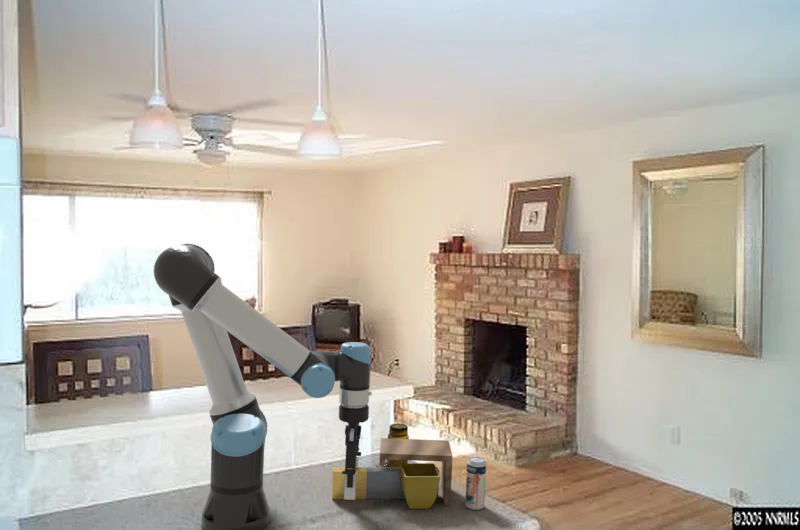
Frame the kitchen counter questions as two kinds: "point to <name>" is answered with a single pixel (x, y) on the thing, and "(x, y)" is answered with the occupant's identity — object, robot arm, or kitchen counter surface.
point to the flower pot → (420, 484)
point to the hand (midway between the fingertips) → (351, 490)
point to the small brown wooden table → (421, 456)
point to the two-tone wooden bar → (371, 483)
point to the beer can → (475, 483)
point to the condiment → (396, 433)
